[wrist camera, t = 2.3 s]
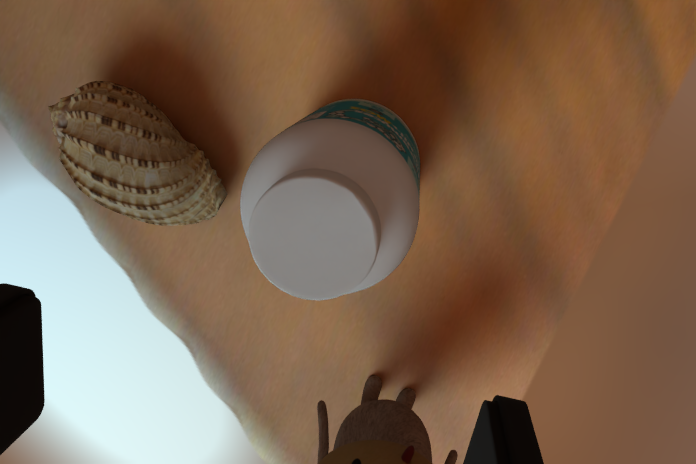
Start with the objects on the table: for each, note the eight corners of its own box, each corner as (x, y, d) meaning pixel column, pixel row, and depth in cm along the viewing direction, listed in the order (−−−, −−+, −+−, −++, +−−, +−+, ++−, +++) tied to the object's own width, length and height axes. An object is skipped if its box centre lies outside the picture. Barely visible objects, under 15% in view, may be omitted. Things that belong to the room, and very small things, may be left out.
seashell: (235, 103, 34) (58, 60, 30) (248, 130, 29) (36, 82, 25) (210, 213, 37) (45, 187, 33) (218, 255, 32) (23, 230, 28)
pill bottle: (444, 179, 31) (461, 276, 18) (341, 243, 33) (292, 368, 21) (372, 68, 29) (337, 90, 17) (269, 142, 32) (168, 211, 19)
